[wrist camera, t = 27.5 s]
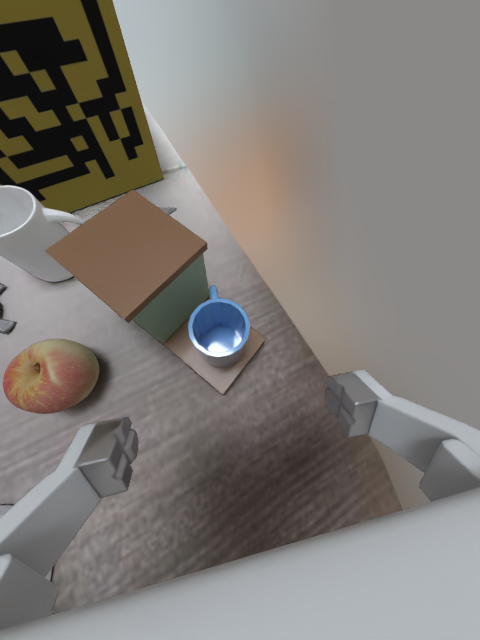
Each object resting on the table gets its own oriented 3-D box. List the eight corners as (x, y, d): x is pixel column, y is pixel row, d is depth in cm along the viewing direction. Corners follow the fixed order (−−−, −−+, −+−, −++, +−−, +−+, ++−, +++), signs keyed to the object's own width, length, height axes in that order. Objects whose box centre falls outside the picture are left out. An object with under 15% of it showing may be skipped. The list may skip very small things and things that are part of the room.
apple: (93, 416, 29) (45, 424, 21) (31, 400, 29) (-38, 402, 21) (120, 354, 32) (87, 342, 24) (64, 340, 32) (13, 323, 24)
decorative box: (111, 114, 56) (-9, -170, 29) (170, 186, 43) (46, -221, 16) (6, 142, 50) (-268, -182, 23) (35, 237, 37) (-548, -281, 10)
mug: (112, 269, 36) (68, 221, 26) (35, 289, 34) (-45, 246, 24) (103, 231, 39) (60, 174, 29) (31, 248, 37) (-43, 192, 26)
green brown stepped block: (221, 397, 31) (217, 400, 16) (119, 310, 34) (44, 250, 20) (264, 341, 34) (292, 303, 20) (167, 266, 37) (132, 188, 23)
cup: (246, 363, 29) (255, 350, 21) (201, 371, 29) (191, 361, 20) (235, 306, 32) (239, 274, 24) (194, 312, 31) (183, 282, 23)
